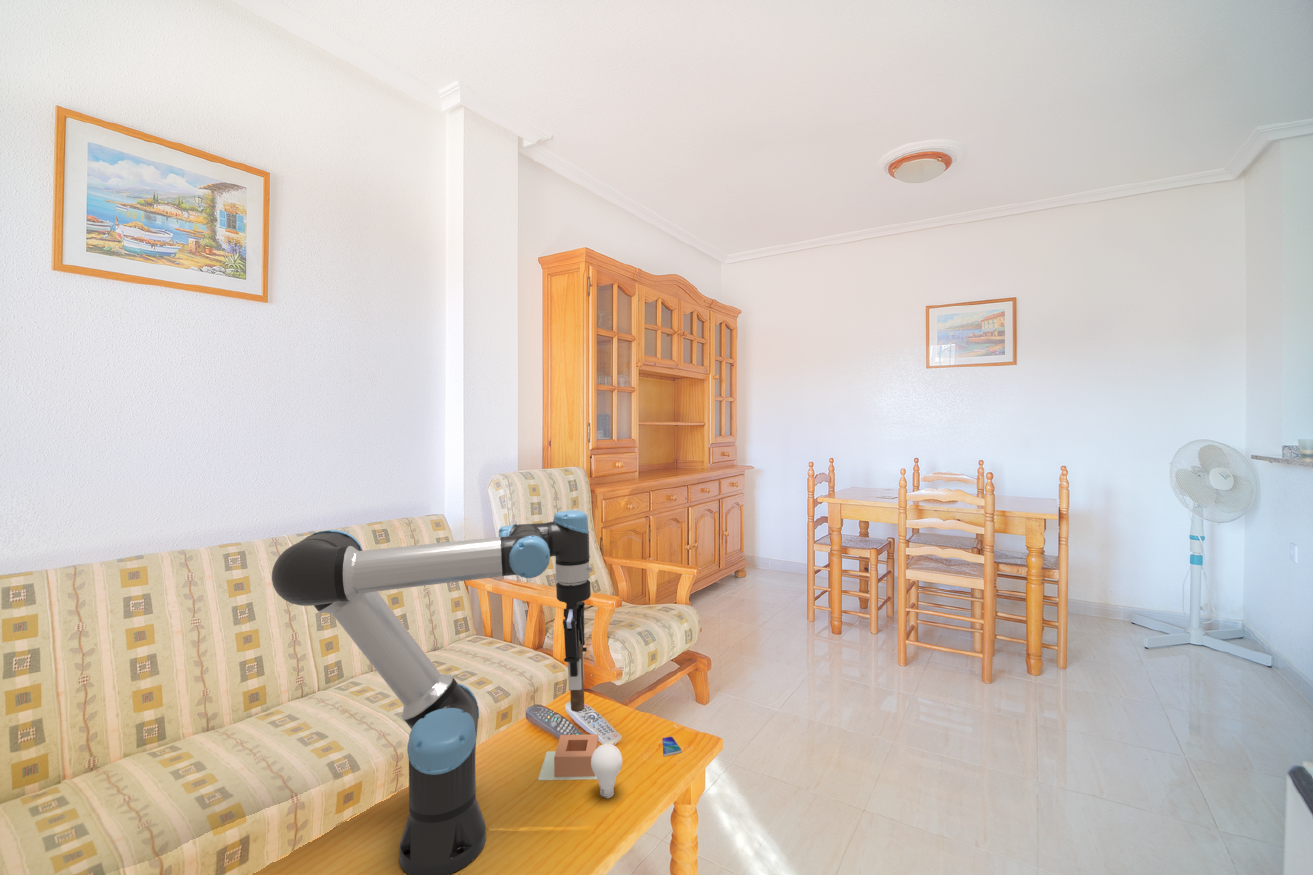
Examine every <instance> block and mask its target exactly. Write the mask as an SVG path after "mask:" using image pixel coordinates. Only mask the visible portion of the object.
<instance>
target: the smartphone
mask: <svg viewBox="0 0 1313 875" xmlns="http://www.w3.org/2000/svg"><path fill="white" fill-rule="evenodd" d="M661 739H662V753H663V754H662V755H663V756H662V757H668V756H674V755H678V754H681V753H682V748H681V747H680V745H679V744H678V743H677V741H676V740H675V738H674V737H673V736H666V737H662V738H661Z"/></svg>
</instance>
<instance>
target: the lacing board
mask: <svg viewBox="0 0 1313 875" xmlns="http://www.w3.org/2000/svg"><path fill="white" fill-rule="evenodd" d="M555 753H556V750H555V751H551V750H550V751H549V750H548V751H546V753H545V756H544V758H543V763H542V766H541V770H540V772H539V774H538V778H537V781H565V780H566V781H569V780H570V781H572V780H573V781H574V780H575V781H576V780H577V781H578V780H598V779H597V777H596V775H595V776H583V777H554V756H555Z"/></svg>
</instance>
